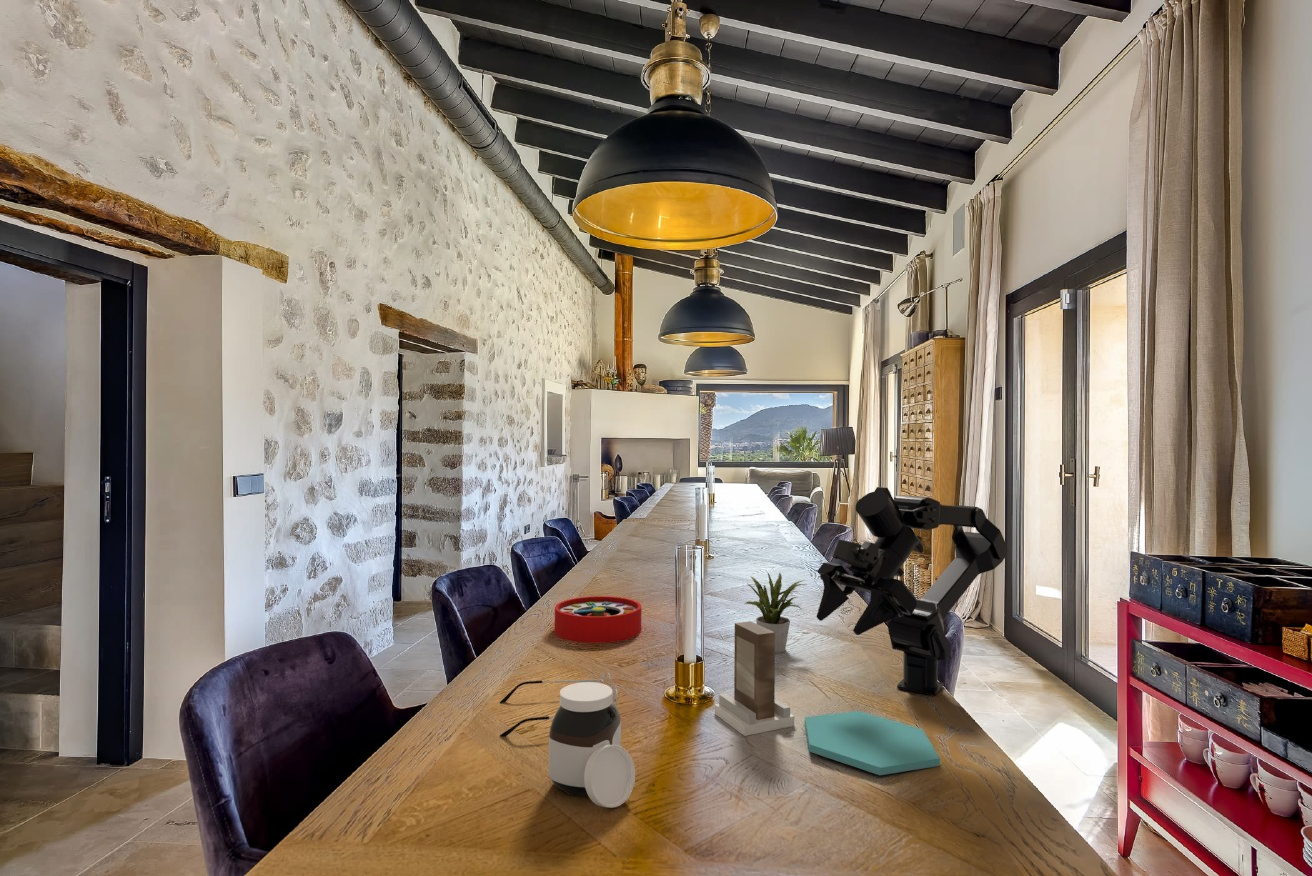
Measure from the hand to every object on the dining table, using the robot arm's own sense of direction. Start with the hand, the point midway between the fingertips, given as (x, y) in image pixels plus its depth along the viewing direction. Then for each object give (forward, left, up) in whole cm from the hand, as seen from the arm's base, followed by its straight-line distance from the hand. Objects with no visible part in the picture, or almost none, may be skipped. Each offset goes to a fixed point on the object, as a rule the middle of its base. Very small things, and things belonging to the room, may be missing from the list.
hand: (836, 625), depth 112 cm
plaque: (+10, +9, -14) cm, 20 cm away
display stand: (+12, -9, -14) cm, 20 cm away
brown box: (+12, -9, -12) cm, 19 cm away
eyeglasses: (+28, -35, -14) cm, 47 cm away
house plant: (-22, -21, -14) cm, 34 cm away
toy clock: (-12, -61, -14) cm, 64 cm away
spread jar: (+43, -15, -14) cm, 47 cm away
